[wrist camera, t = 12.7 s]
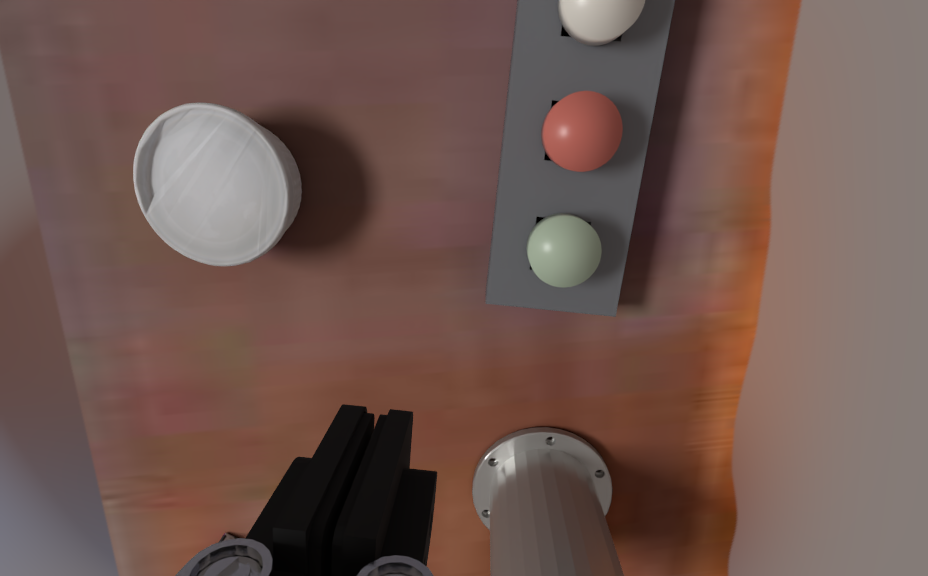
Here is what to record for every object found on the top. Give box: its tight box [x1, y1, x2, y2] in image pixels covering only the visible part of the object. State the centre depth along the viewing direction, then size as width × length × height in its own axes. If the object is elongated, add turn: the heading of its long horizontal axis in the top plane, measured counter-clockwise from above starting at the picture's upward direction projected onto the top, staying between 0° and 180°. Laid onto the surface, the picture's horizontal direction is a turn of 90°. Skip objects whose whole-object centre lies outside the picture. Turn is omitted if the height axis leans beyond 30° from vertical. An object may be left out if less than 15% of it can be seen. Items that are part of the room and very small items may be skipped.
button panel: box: [486, 0, 675, 317], centre depth 36 cm, size 26×10×3 cm, turn 175°
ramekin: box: [133, 103, 302, 266], centre depth 37 cm, size 11×11×5 cm
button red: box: [541, 91, 623, 172], centre depth 34 cm, size 5×5×5 cm
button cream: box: [558, 0, 645, 46], centre depth 32 cm, size 5×5×5 cm
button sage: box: [526, 213, 602, 288], centre depth 36 cm, size 5×5×5 cm
